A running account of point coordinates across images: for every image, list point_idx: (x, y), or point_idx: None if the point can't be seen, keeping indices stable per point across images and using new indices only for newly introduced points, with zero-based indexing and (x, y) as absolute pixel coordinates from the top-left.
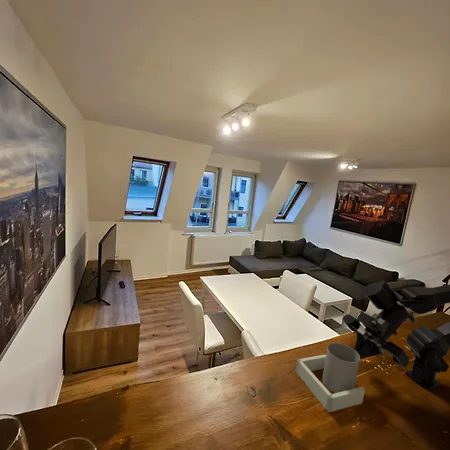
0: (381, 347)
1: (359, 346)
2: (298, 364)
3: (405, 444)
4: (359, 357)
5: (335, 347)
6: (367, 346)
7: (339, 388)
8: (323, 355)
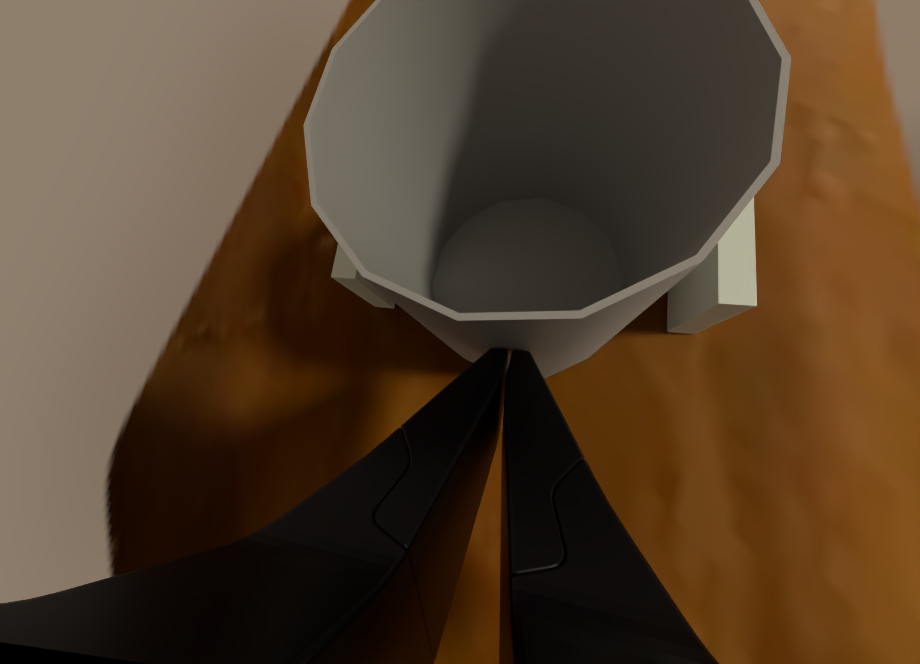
0: None
1: (508, 493)
2: None
3: (191, 300)
4: (338, 234)
5: (720, 205)
6: (306, 547)
7: (456, 208)
8: (744, 255)
